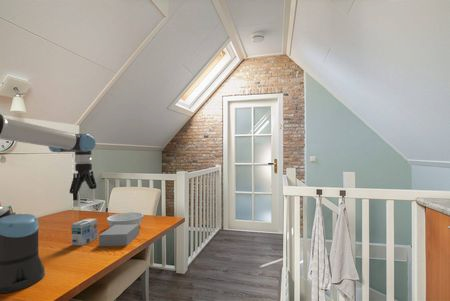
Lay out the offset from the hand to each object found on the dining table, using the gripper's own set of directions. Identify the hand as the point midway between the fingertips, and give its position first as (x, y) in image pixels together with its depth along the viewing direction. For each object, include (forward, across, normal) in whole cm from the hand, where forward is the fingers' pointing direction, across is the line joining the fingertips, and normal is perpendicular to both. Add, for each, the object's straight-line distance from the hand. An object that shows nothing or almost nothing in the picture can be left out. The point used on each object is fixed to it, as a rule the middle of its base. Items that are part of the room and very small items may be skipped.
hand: (84, 203), depth 123 cm
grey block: (+20, +1, -18) cm, 27 cm away
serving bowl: (+20, +23, -12) cm, 33 cm away
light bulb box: (+20, 0, 0) cm, 20 cm away
